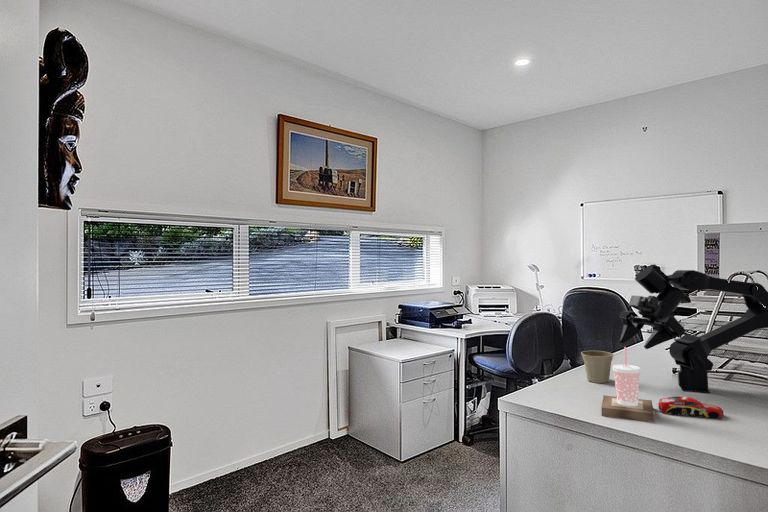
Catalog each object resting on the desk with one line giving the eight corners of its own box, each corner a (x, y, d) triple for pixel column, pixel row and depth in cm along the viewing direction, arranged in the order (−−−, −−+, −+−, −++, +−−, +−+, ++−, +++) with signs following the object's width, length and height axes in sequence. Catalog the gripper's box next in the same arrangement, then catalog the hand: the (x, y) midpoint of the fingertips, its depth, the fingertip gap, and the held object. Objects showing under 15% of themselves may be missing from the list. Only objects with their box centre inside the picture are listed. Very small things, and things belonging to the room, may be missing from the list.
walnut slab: (651, 408, 113) (651, 399, 113) (654, 422, 104) (653, 413, 104) (603, 402, 119) (603, 395, 119) (601, 415, 109) (601, 407, 109)
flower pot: (621, 384, 136) (619, 356, 136) (589, 385, 136) (588, 356, 136) (606, 376, 145) (605, 350, 145) (577, 377, 145) (576, 351, 145)
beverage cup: (612, 398, 115) (610, 344, 115) (639, 400, 113) (637, 345, 113) (614, 405, 110) (612, 348, 110) (643, 408, 107) (641, 349, 107)
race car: (721, 414, 108) (720, 398, 108) (726, 422, 103) (726, 404, 103) (657, 408, 114) (657, 392, 114) (660, 414, 109) (659, 398, 109)
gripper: (623, 284, 137) (592, 322, 135) (673, 286, 119) (639, 330, 116) (646, 308, 138) (616, 346, 136) (699, 314, 120) (666, 358, 118)
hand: (632, 345), depth 126 cm, fingers open, 9 cm apart
